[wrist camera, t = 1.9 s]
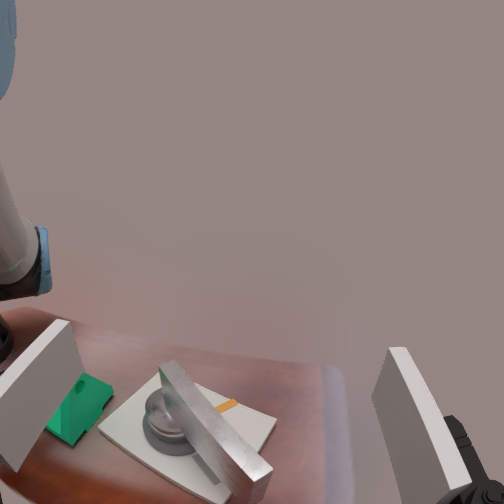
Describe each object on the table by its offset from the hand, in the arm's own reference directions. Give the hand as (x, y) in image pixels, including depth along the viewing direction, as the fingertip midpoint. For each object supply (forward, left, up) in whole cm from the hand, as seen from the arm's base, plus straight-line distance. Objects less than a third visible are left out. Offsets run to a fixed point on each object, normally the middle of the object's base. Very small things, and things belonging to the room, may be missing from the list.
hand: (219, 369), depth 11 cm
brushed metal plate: (-7, +8, -27) cm, 29 cm away
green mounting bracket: (-27, +3, -30) cm, 41 cm away
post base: (-11, +11, -30) cm, 34 cm away
